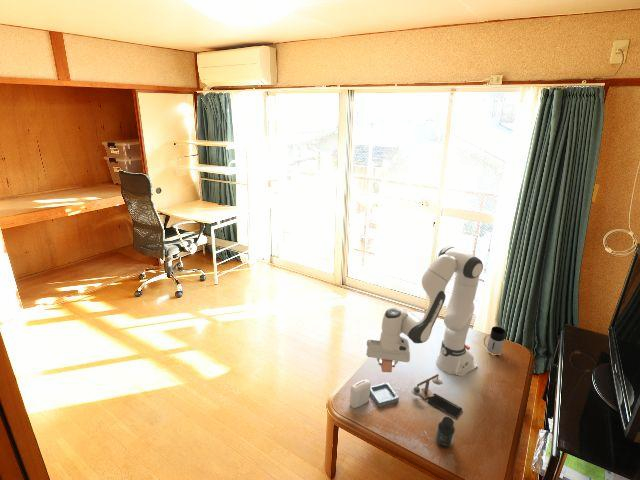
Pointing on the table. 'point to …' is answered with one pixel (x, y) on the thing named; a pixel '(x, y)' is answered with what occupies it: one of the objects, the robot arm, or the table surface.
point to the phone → (445, 406)
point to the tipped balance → (426, 387)
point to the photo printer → (360, 393)
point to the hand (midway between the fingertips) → (386, 365)
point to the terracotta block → (386, 365)
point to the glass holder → (495, 340)
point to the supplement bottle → (445, 432)
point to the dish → (383, 394)
